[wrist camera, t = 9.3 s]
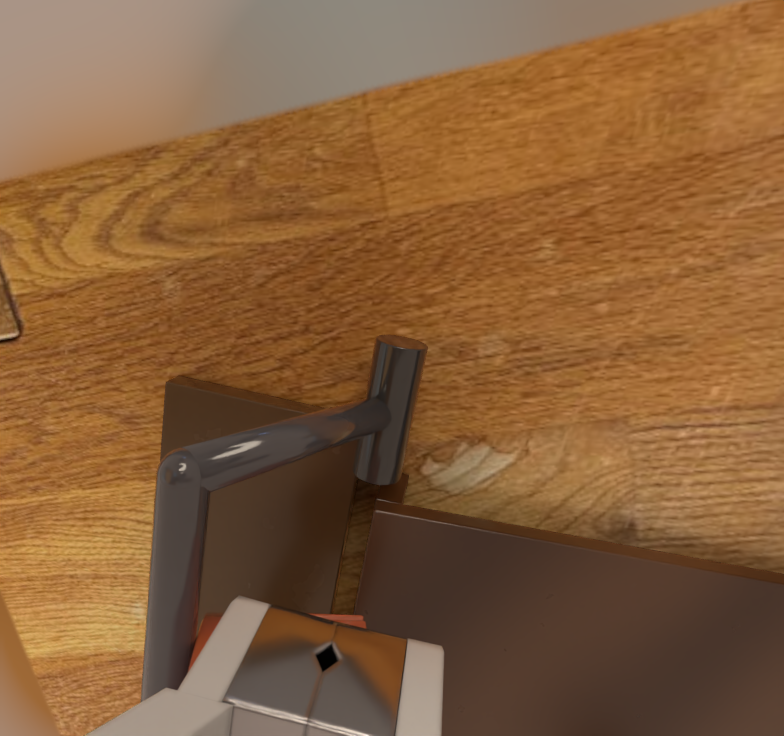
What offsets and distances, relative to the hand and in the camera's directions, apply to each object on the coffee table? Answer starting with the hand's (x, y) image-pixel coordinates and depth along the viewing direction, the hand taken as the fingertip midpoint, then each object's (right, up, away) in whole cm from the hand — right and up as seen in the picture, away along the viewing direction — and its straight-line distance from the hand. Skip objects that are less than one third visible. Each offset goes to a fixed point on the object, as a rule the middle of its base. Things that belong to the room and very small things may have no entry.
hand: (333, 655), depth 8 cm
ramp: (+12, -7, +14) cm, 20 cm away
